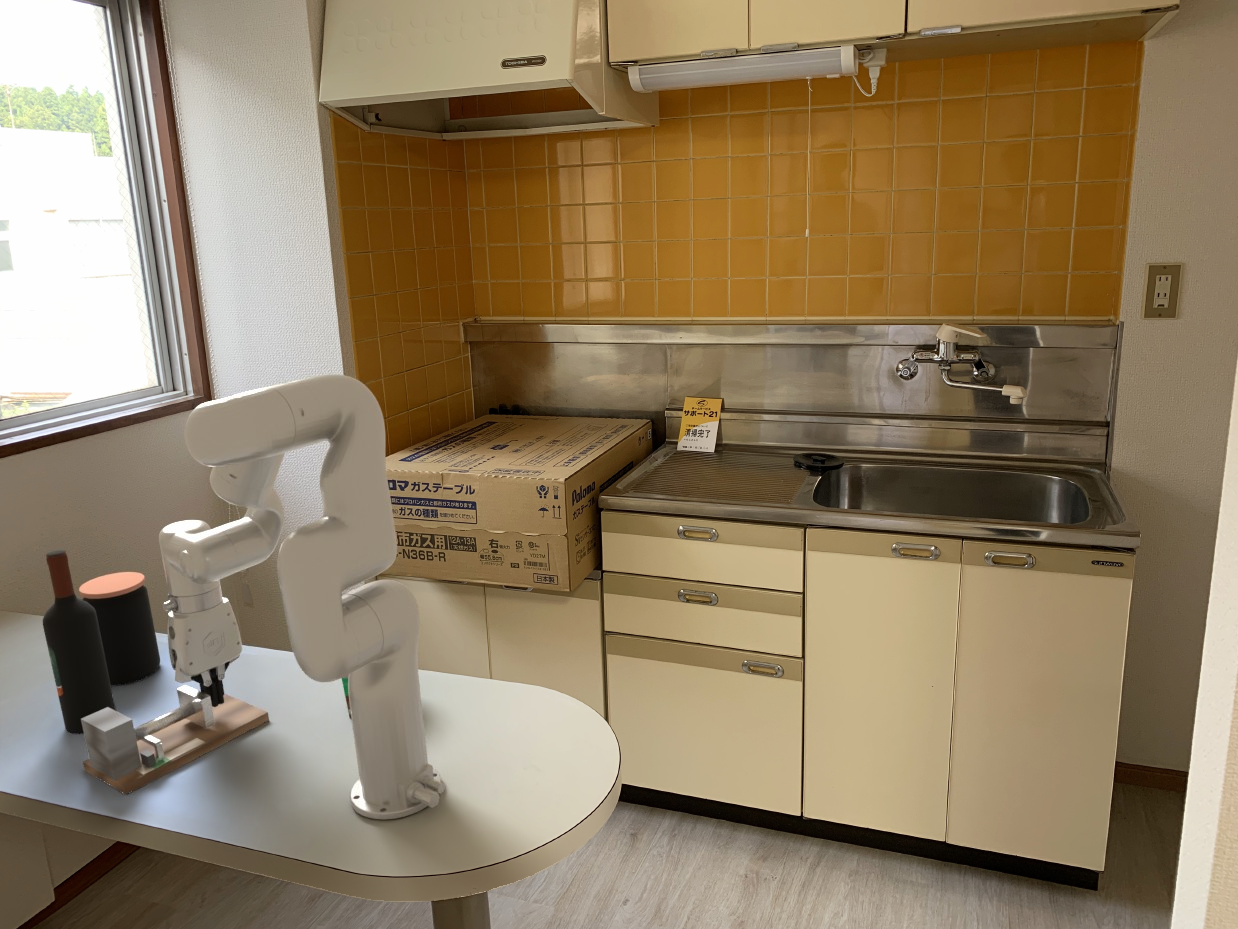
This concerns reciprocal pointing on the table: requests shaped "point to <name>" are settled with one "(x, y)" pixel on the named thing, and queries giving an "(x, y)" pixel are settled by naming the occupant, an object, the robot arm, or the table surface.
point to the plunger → (178, 716)
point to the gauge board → (181, 742)
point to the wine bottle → (75, 649)
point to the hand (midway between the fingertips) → (214, 703)
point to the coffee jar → (124, 625)
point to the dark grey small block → (148, 758)
